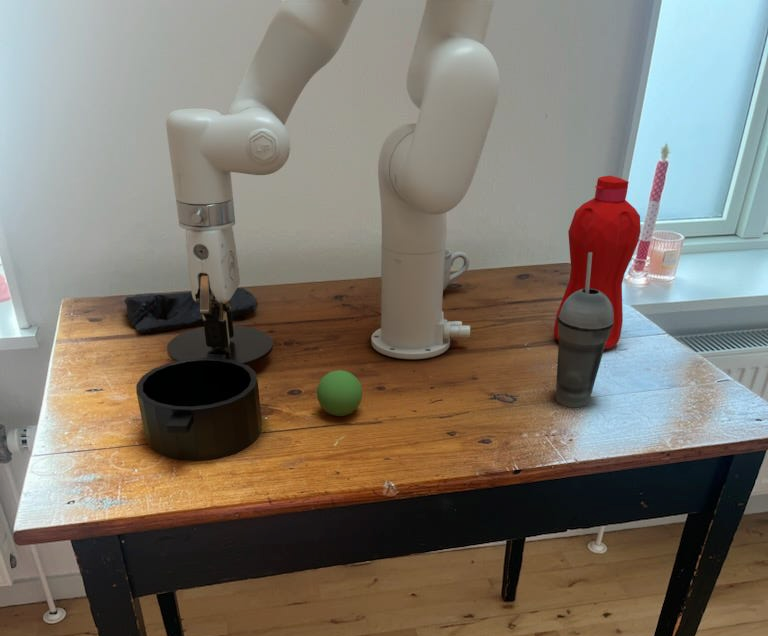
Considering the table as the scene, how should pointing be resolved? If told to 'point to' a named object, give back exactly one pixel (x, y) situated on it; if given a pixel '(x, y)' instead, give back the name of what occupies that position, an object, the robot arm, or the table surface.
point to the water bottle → (603, 246)
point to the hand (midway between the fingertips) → (220, 340)
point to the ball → (339, 393)
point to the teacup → (449, 262)
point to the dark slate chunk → (178, 310)
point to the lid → (241, 348)
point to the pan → (200, 408)
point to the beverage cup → (581, 342)
